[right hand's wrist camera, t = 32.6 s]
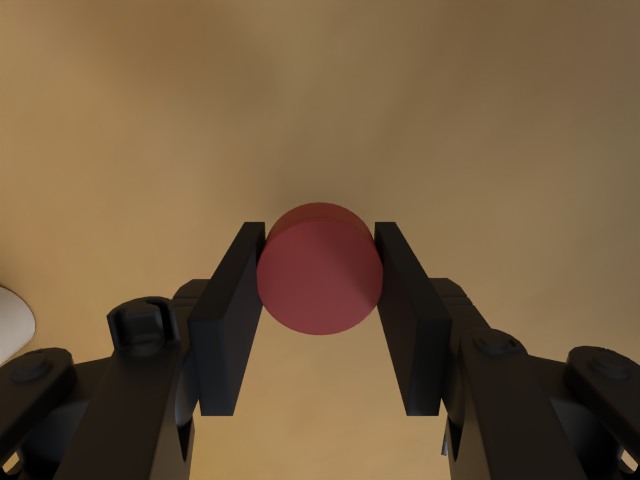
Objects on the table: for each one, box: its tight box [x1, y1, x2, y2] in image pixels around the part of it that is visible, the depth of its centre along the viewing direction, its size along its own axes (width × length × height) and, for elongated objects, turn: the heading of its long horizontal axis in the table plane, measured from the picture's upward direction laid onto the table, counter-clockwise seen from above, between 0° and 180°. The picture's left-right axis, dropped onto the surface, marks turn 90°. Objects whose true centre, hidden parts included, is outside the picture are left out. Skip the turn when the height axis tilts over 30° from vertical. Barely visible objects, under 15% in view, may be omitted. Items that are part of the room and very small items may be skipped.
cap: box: [256, 203, 383, 335], centre depth 13 cm, size 4×4×2 cm
